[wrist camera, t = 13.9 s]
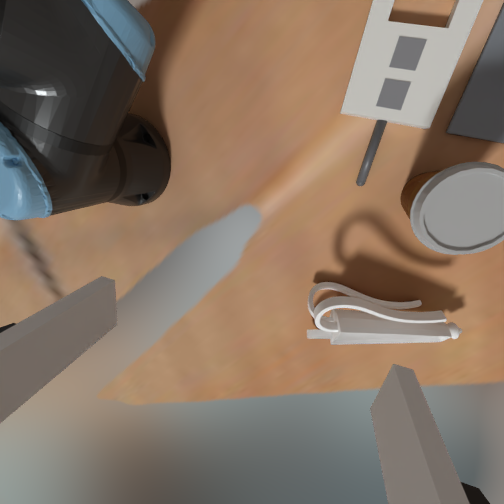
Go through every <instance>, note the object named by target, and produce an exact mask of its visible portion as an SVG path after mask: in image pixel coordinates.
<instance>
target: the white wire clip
mask: <svg viewBox="0 0 504 504" xmlns="http://www.w3.org/2000/svg"><path fill="white" fill-rule="evenodd" d="M321 289H332V290H336V291H339V292H342V293H344V294H346V295H348V296H350V297H346V296H338V297H331V298H328V299H325V300H323V301H321V302H320V303H319V304H318V305H317V306H316V307H315V308H314V305H313V297H314V294H315V293H316V292H317V291H319V290H321ZM421 305H422V303H421V301H420V300H416V301H412V302H390V301H383V300H379V299H375V298H372V297H369V296H366V295H364V294H361V293H359V292H357V291H355V290H353V289H350V288H348V287H346V286H343V285H341V284H338V283H333V282H321V283H319V284H317V285H315V286H314V287H313V288H312V289H311V291H310V293H309V297H308V308H309V311H310V314H311V315H312V316H313V318H314V320H315V324H316V326H317V327H318V328H319V329H321V330H307V338H312V339H330V341H331V345H337V344H383V343H422V342H442V341H444V340H446V339H448V338H453V339H457V338H458V337H459V334H460V333H462V329H461V328H459V327H458V326H457V325H456V324H455V323H453V322H450V323H447V324H445V323H444V322H446V320H447V319H446V317H445V315H444V314H443V312H442V310H440V311H431V312H406V311H398V310H392V309H410V308H415V307H419V306H421ZM335 308H352V309H357V310H361V311H355V310H342V309H335ZM331 309H333V310H331ZM329 310H331V313H330V317H325V316H322V315H323V314H324V313H325V312H327V311H329Z"/></svg>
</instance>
